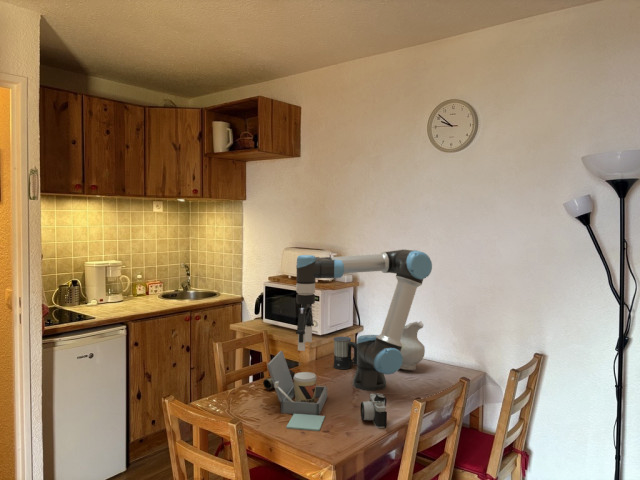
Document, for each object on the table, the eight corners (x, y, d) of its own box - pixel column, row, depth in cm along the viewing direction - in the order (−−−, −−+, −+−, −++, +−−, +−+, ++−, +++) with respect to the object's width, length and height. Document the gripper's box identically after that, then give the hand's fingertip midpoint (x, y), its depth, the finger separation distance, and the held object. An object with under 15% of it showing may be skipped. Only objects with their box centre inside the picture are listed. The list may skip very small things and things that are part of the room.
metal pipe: (271, 390, 205) (271, 377, 205) (259, 387, 210) (259, 374, 209) (297, 381, 220) (297, 368, 220) (286, 378, 224) (286, 366, 224)
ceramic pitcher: (377, 370, 238) (377, 320, 237) (387, 359, 256) (387, 314, 255) (420, 375, 230) (421, 324, 229) (427, 364, 248) (428, 317, 247)
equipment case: (327, 397, 200) (327, 353, 200) (318, 416, 180) (319, 367, 179) (279, 393, 204) (280, 350, 203) (266, 412, 184) (266, 364, 183)
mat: (324, 417, 179) (324, 415, 179) (319, 431, 167) (319, 429, 167) (293, 415, 181) (293, 413, 181) (286, 428, 169) (286, 426, 169)
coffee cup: (299, 410, 185) (299, 380, 185) (289, 402, 194) (289, 373, 193) (320, 406, 190) (320, 377, 189) (310, 399, 198) (310, 370, 198)
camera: (357, 412, 184) (358, 387, 184) (380, 411, 185) (380, 386, 185) (365, 429, 169) (365, 402, 169) (389, 429, 170) (390, 401, 169)
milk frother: (331, 368, 239) (331, 339, 239) (337, 360, 255) (337, 332, 254) (359, 371, 236) (359, 341, 236) (363, 362, 252) (363, 334, 251)
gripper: (303, 289, 203) (302, 338, 204) (289, 297, 178) (288, 353, 179) (320, 289, 202) (319, 339, 202) (308, 298, 177) (307, 354, 178)
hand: (305, 346), depth 191 cm, fingers open, 13 cm apart
